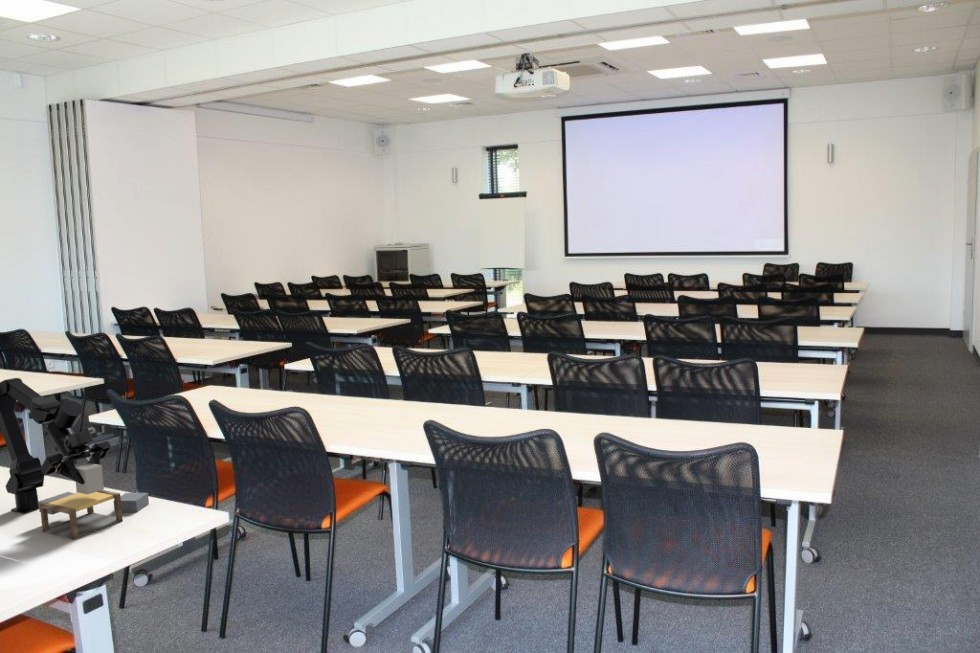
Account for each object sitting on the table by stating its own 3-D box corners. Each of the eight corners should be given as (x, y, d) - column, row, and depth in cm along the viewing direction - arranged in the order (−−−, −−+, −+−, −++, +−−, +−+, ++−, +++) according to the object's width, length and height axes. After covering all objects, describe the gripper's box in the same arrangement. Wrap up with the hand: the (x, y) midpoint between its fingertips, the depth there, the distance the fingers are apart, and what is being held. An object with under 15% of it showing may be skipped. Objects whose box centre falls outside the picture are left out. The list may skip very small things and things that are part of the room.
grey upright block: (76, 492, 230) (74, 467, 229) (93, 486, 235) (90, 462, 234) (87, 494, 228) (85, 470, 227) (104, 489, 232) (101, 465, 231)
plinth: (114, 512, 243) (113, 500, 243) (126, 504, 250) (125, 492, 250) (137, 512, 243) (136, 500, 242) (149, 503, 250) (147, 492, 249)
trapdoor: (34, 513, 233) (32, 499, 232) (73, 500, 243) (72, 486, 243) (75, 523, 224) (74, 508, 223) (114, 508, 234) (113, 494, 234)
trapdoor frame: (42, 531, 229) (39, 503, 228) (91, 514, 242) (88, 487, 241) (74, 539, 223) (71, 510, 222) (122, 521, 236) (120, 493, 235)
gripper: (42, 428, 223) (71, 473, 219) (105, 413, 239) (132, 454, 235) (28, 453, 228) (56, 497, 224) (90, 436, 244) (117, 477, 240)
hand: (92, 480), depth 230 cm, fingers closed on grey upright block, 5 cm apart
